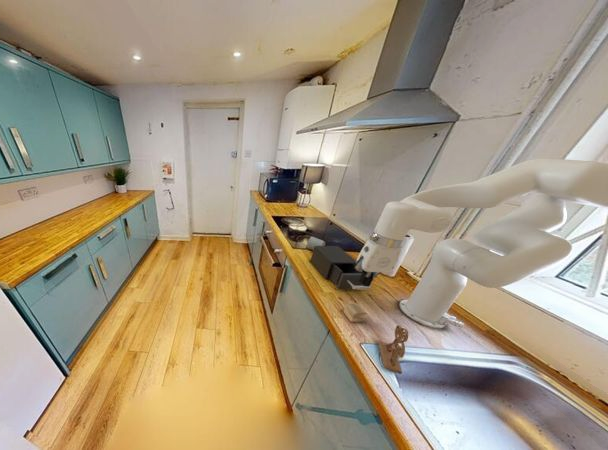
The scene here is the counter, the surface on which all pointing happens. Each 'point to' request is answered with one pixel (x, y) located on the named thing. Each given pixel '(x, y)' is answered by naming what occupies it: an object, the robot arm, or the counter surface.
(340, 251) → the black drawer cabinet housing
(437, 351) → the counter surface
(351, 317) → the block
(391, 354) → the brown irregular upright piece
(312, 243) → the ceramic mug
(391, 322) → the counter surface
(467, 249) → the robot arm
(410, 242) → the paper towel roll
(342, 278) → the black pull-out drawer
